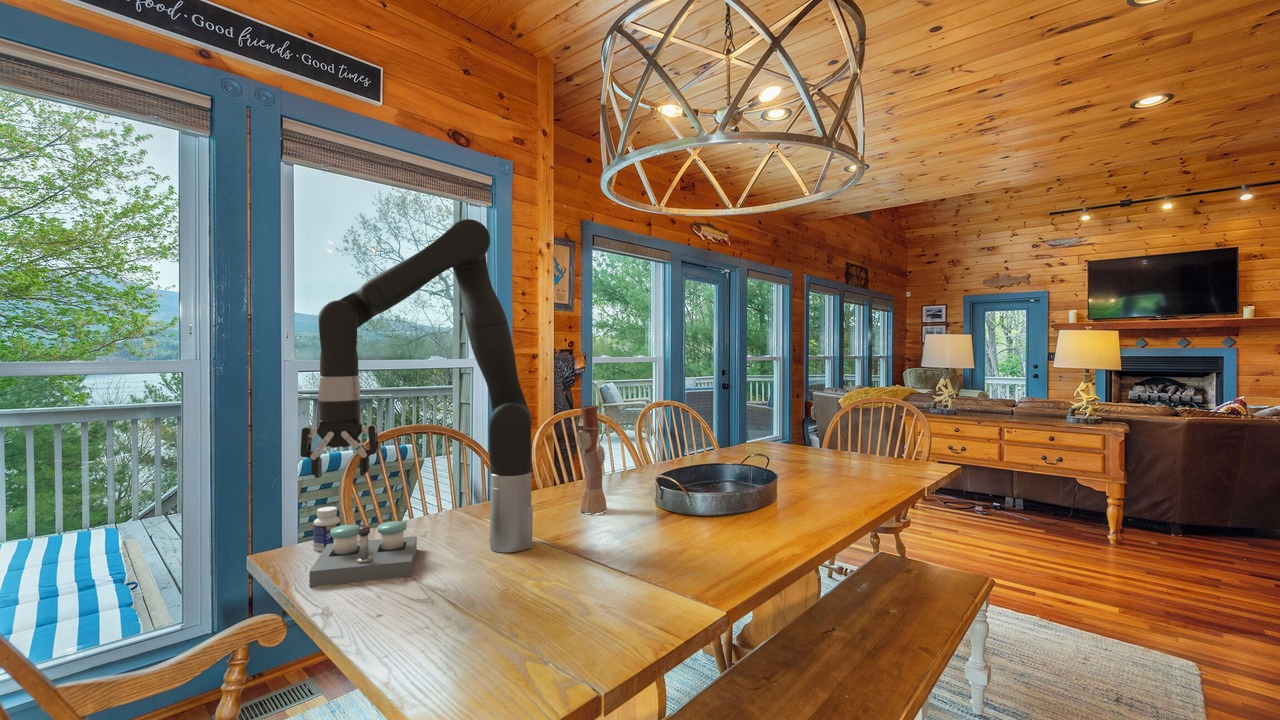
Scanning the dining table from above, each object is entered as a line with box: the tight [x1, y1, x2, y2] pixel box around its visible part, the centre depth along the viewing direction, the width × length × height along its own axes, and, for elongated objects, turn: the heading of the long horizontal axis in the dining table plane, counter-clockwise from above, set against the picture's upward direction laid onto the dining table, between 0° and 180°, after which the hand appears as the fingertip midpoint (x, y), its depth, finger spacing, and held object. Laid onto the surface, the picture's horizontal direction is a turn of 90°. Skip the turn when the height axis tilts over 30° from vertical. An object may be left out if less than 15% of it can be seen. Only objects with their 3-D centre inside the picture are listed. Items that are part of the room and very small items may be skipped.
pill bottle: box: [312, 506, 341, 552], centre depth 129 cm, size 5×5×9 cm
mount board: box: [308, 535, 418, 588], centre depth 118 cm, size 18×16×3 cm
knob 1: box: [330, 524, 361, 554], centre depth 119 cm, size 6×6×4 cm
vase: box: [576, 404, 607, 514], centre depth 159 cm, size 10×7×30 cm
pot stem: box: [356, 525, 372, 563], centre depth 113 cm, size 3×3×7 cm
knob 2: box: [377, 520, 407, 550], centre depth 121 cm, size 6×6×4 cm
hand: (340, 476), depth 118 cm, fingers open, 8 cm apart
